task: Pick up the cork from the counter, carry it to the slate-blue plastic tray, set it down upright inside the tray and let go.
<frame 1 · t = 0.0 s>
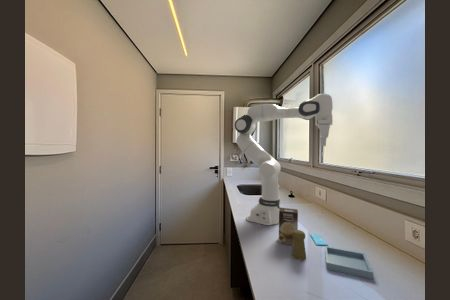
hand: (323, 146, 115), 48 cm above the table, tool pointing down, fingers open, 8 cm apart
tray: (346, 263, 81), on the table
cork: (298, 256, 86), on the table
coffee box: (288, 241, 100), on the table
sponge: (318, 241, 101), on the table
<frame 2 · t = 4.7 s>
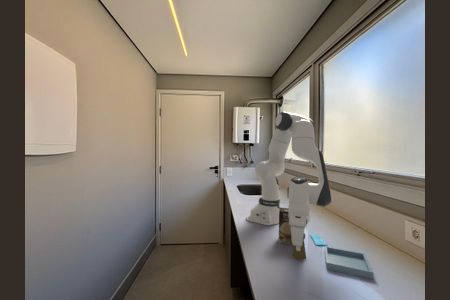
hand: (298, 246, 86), 4 cm above the table, tool pointing down, fingers closed on cork, 5 cm apart
cork: (298, 256, 86), on the table, touching gripper
everything else where it was.
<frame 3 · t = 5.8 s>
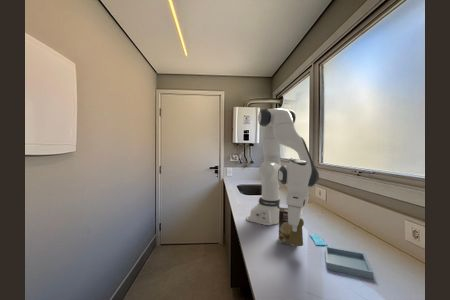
hand: (295, 228, 87), 12 cm above the table, tool pointing down, fingers closed on cork, 4 cm apart
cork: (295, 243, 87), point 6 cm above the table, touching gripper
everything else where it was.
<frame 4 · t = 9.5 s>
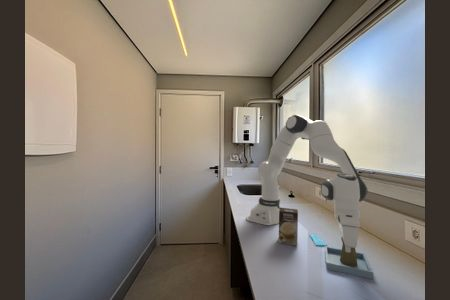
hand: (346, 248, 80), 7 cm above the table, tool pointing down, fingers closed on cork, 4 cm apart
cork: (348, 262, 81), point 1 cm above the table, touching gripper, tray
everything else where it was.
when the fingers open (7 cm above the table, at t = 9.7 s): cork stays where it is, resting on tray.
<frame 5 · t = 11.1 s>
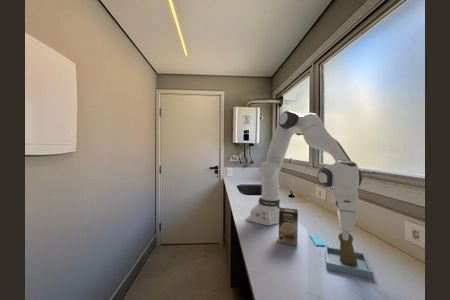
hand: (343, 234, 81), 12 cm above the table, tool pointing down, fingers open, 8 cm apart
cork: (348, 261, 81), point 1 cm above the table, touching tray
everything else where it was.
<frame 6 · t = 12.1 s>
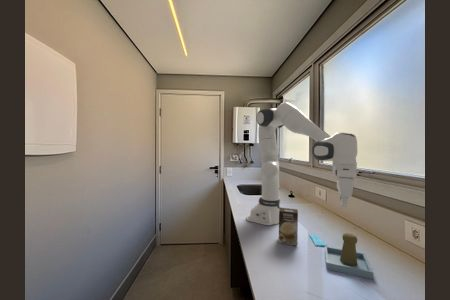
hand: (342, 203, 84), 24 cm above the table, tool pointing down, fingers open, 8 cm apart
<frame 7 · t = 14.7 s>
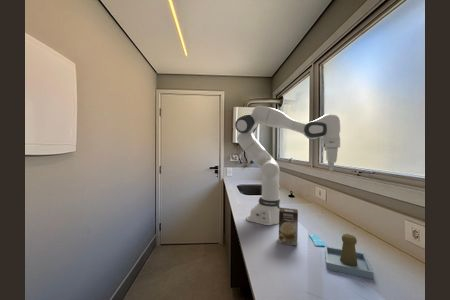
hand: (330, 169, 108), 35 cm above the table, tool pointing down, fingers open, 8 cm apart
at the end: cork inside the target area on the tray (1.1 cm from its centre), point 0.5 cm above the tray's base; cork tilted 1°; the gripper is holding nothing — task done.
